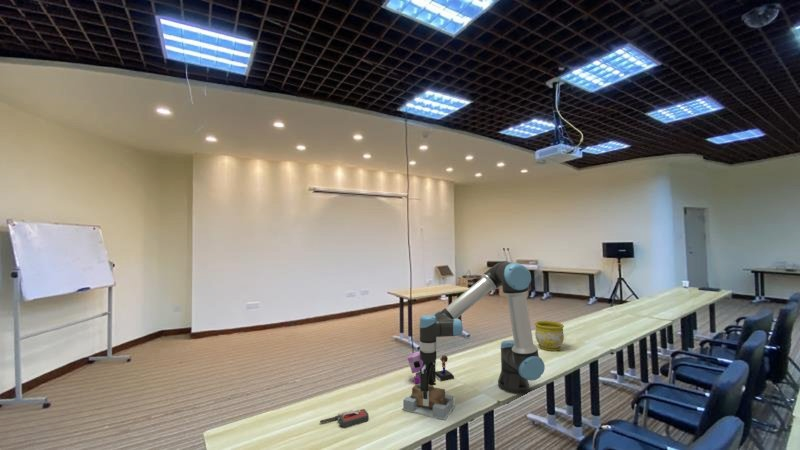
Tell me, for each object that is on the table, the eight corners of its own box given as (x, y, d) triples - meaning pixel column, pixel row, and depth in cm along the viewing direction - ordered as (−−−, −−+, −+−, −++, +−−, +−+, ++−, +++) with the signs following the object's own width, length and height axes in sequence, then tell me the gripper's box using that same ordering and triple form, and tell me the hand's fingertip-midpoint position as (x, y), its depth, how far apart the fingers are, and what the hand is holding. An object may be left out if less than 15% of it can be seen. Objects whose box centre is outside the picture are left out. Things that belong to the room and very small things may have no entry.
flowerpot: (569, 352, 225) (568, 327, 226) (541, 352, 226) (541, 327, 226) (557, 343, 243) (556, 320, 244) (531, 344, 244) (531, 320, 244)
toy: (430, 384, 177) (421, 355, 179) (416, 387, 179) (407, 359, 181) (433, 376, 188) (424, 349, 190) (419, 380, 189) (410, 353, 191)
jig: (454, 406, 156) (454, 396, 156) (445, 420, 144) (444, 409, 144) (414, 397, 165) (414, 387, 165) (402, 409, 153) (402, 399, 153)
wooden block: (445, 405, 154) (445, 386, 154) (441, 410, 149) (441, 391, 149) (416, 399, 160) (416, 381, 160) (412, 403, 155) (412, 385, 155)
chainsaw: (364, 412, 152) (319, 423, 143) (364, 402, 153) (319, 413, 143) (371, 421, 145) (324, 434, 135) (371, 410, 145) (324, 423, 135)
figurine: (433, 376, 189) (433, 354, 190) (446, 373, 193) (446, 352, 193) (440, 381, 182) (440, 358, 183) (454, 378, 186) (453, 356, 186)
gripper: (427, 343, 165) (428, 392, 164) (412, 355, 149) (412, 409, 148) (442, 345, 162) (443, 395, 161) (428, 358, 146) (428, 413, 145)
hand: (428, 402), depth 155 cm, fingers closed on wooden block, 5 cm apart
